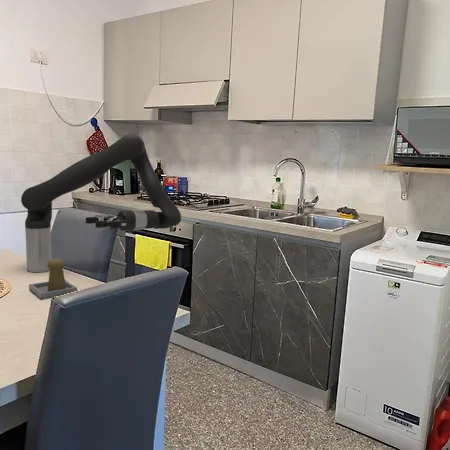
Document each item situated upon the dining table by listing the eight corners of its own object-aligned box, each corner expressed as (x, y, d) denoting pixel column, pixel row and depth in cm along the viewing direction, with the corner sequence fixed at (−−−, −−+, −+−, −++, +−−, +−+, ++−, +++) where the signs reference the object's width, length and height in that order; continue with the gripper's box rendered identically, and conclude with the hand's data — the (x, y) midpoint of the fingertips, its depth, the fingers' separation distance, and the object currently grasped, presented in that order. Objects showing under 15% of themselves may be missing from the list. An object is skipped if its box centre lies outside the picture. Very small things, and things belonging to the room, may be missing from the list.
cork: (59, 294, 146) (58, 262, 144) (43, 292, 147) (42, 260, 145) (70, 289, 152) (69, 258, 150) (54, 287, 153) (53, 256, 151)
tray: (29, 290, 151) (29, 284, 151) (64, 284, 159) (64, 278, 159) (40, 299, 142) (40, 293, 142) (77, 293, 150) (77, 287, 150)
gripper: (123, 207, 171) (82, 209, 160) (141, 213, 160) (99, 215, 150) (122, 226, 172) (82, 229, 162) (141, 233, 161) (99, 236, 151)
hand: (90, 222), depth 156 cm, fingers open, 8 cm apart
